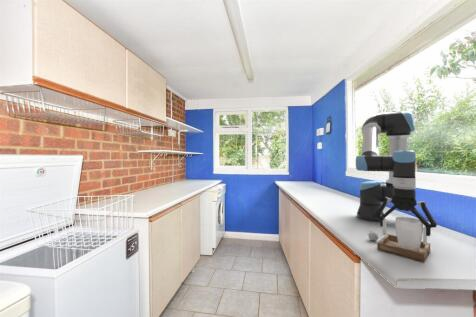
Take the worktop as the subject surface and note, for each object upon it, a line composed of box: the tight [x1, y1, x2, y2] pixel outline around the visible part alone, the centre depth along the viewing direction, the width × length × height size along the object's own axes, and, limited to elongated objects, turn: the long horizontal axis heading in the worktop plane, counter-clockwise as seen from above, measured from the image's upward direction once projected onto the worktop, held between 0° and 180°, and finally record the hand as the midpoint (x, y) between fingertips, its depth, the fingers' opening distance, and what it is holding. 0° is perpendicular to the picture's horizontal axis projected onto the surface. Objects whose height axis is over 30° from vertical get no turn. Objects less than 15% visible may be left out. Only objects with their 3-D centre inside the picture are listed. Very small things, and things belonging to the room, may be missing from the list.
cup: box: [394, 216, 424, 252], centre depth 89 cm, size 9×9×12 cm
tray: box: [376, 233, 431, 263], centre depth 91 cm, size 15×15×3 cm
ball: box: [367, 231, 379, 242], centre depth 101 cm, size 4×4×4 cm
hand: (403, 238), depth 91 cm, fingers open, 13 cm apart
